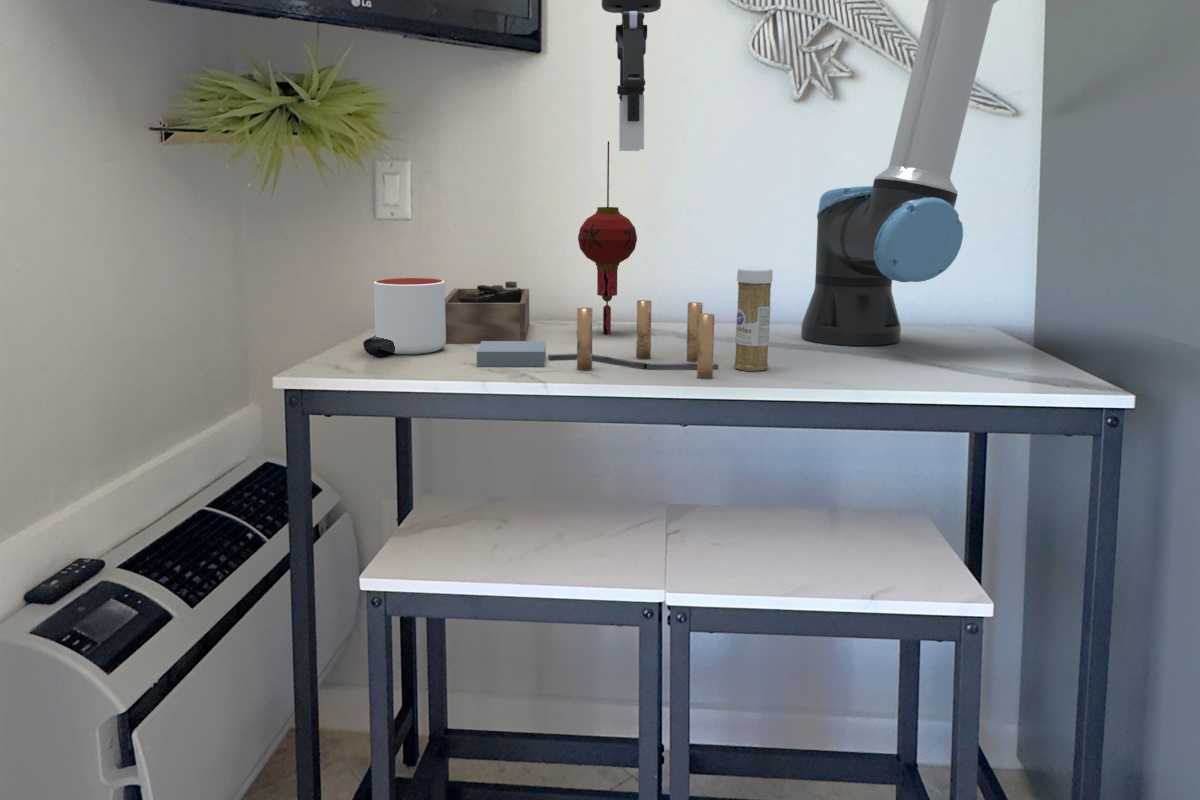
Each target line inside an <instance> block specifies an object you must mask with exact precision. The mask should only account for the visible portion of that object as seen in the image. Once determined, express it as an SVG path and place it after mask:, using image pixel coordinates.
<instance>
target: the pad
mask: <svg viewBox="0 0 1200 800" xmlns="http://www.w3.org/2000/svg"><path fill="white" fill-rule="evenodd" d="M546 344H547V343H546V341H545V340H544V341H543V340H536V341H535V340H533V341H532V340H526V341H481V343H479V346H478V348H477V350H476V367H534V366H536V367H540V368H541V367H545V366H546V356H547V355H546V353H547V352H546V351H547V350H546Z"/></svg>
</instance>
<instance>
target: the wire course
mask: <svg viewBox="0 0 1200 800" xmlns="http://www.w3.org/2000/svg"><path fill="white" fill-rule="evenodd" d="M686 319H687V323H686V324H687V325H686V357H685V358H686V362H690V363H673V362H672V363H665V362H664V363H663V362H662V363H659V362H658V363H655V362H653V363H648V362H642V361H635V360H628V359H623V358H616V357H611V356H604V355H598V354H593V307H578V308H576V335H577V336H576V353H557V354H555V353H554V354H553V353H552V354H551V353H550V354H548V355H547V357H548V358H547V360H549V361H557V360H558V361H560V360H561V361H562V360H564V361H565V360H576V370H578V371H589V370H591V371H592V369H593V362H600V363H606V364H613V365H617V366H623V367H630V368H636V369H640V370H641V369H642V370H696V378H698V379H706V380H707V379H713V377H714V376H713V375H714V370H719V363H714V345H715V343H714V342H715V341H714V340H715V339H714V337H715V314H714V313H703V302H699V301H690V302H689V301H688V302H687V318H686ZM651 342H652V300H649V299H648V300H647V299H639V300H636V345H635V347H636V348H635V349H636V357H635V358H636V359H638V360H649V359H651V355H652V354H651V346H652V345H651V344H652V343H651Z"/></svg>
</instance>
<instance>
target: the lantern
mask: <svg viewBox="0 0 1200 800" xmlns="http://www.w3.org/2000/svg"><path fill="white" fill-rule="evenodd" d="M606 173H607V174H606V175H607V178H606V179H607V181H606V183H607V184H606V185H607V187H606V188H607V189H606V190H607V191H606V194H607V195H606V196H607V197H606V206H598V207H596V209H597V210H596V211H595V213H594V214H592V215H590V216H589V217H587V218H586V220H585V221H583V224H582V225H581V226H580V228H579V230H578V236H577V239H578V240H577V241H578V245H579V249H580V250H581V252H582V253H583V255H584V256H585V257H586V258H587V259H588V260H590V261H592V262H593V263H595V266H596V271H597V272H596V273H597V276H596V277H597V278H596V279H597V283H596V285H597V289H596V290H597V291H596V293H597V294H596V295H597V296H600V297H601V299H602V300H603V301H604V302H606V303H605V305H604V306H603V308H602V309H603V312H602V314H603V316H602V317H603V318H602V325H603V327H602V334H603V335H611V332H612V331H611V329H612V328H611V327H612V326H611V325H612V323H611V321H612V319H611V317H612V314H611V313H612V307H611V306H610V305H609V302H610V301H612V299H613V297H616V296H618V270H619V266H620V263H621V262H624V261H626V260H628V259H629V258H630V256H631V255H632V254H633V253H634V251H635V249H636V246H637V241H638V235H637V231H636V227H635V226H634V224H633V223H632V221H631V220H630V218H628V217H627V216H625V215H623V214H622V213H621V212H620V211H619V206H616V207H615V206H610V203H609V201H610V195H609V194H610V192H609V191H610V141H609V140H608V141H607V172H606Z"/></svg>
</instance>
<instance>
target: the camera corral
mask: <svg viewBox="0 0 1200 800" xmlns="http://www.w3.org/2000/svg"><path fill="white" fill-rule="evenodd" d="M466 289H467V288H452V290H451V291H450V293H448V295H447V296H445V319H446V343H445V344H480V343H481V341H527V338H528V333H529V328H530V288H520V289H521V301H520V303H458V302H459V297H462V296H466Z"/></svg>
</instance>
